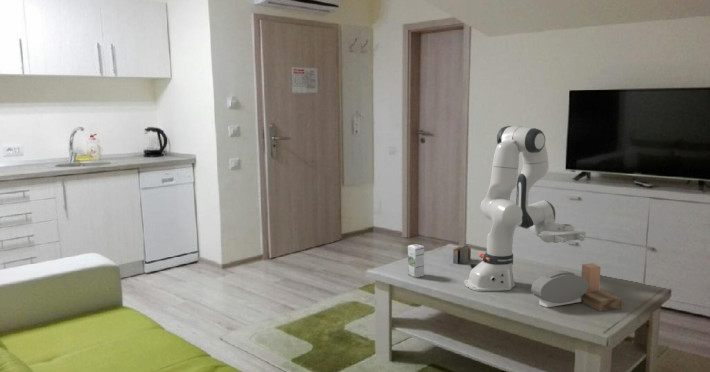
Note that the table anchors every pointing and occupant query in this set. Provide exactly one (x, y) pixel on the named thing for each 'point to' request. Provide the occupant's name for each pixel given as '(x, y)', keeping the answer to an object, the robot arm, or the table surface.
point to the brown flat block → (461, 254)
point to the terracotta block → (591, 276)
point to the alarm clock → (559, 288)
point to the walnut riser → (602, 300)
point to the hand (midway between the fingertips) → (573, 239)
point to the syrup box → (416, 260)
